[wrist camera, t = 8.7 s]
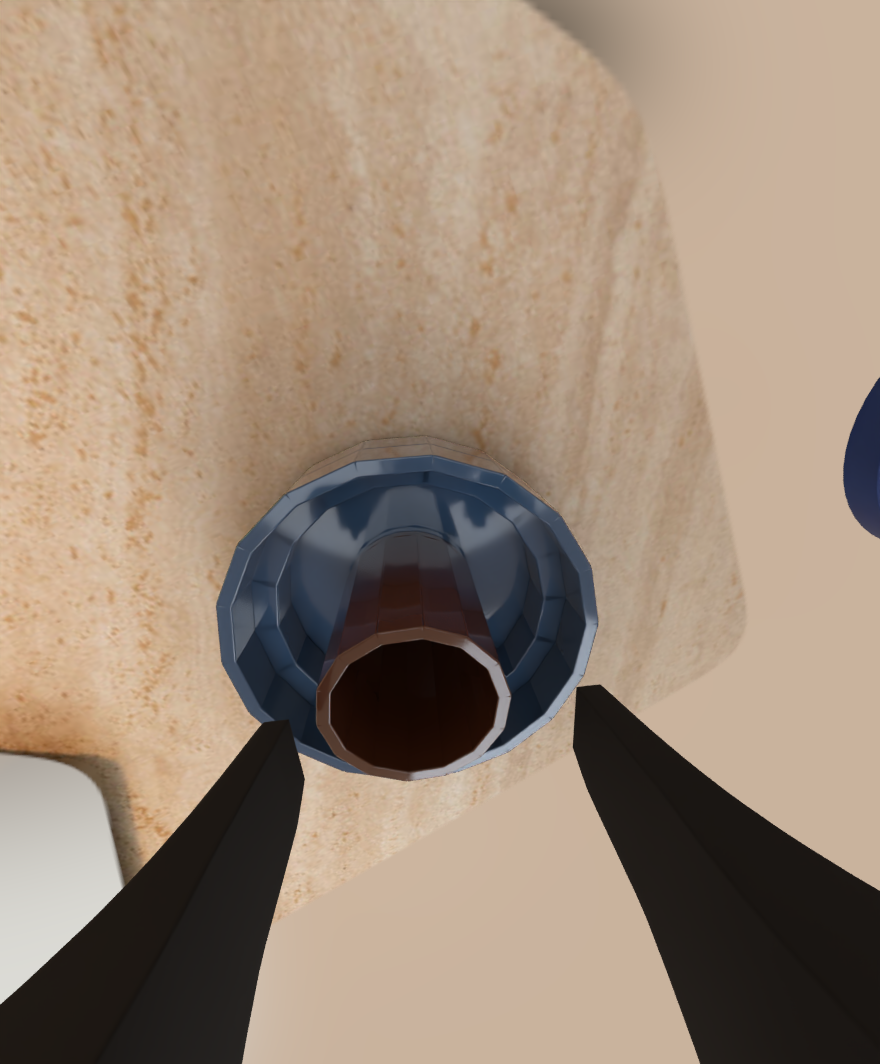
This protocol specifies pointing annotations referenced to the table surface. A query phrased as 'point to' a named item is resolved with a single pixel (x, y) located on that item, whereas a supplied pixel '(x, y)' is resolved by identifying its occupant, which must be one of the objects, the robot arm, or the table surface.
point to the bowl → (391, 507)
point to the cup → (411, 664)
